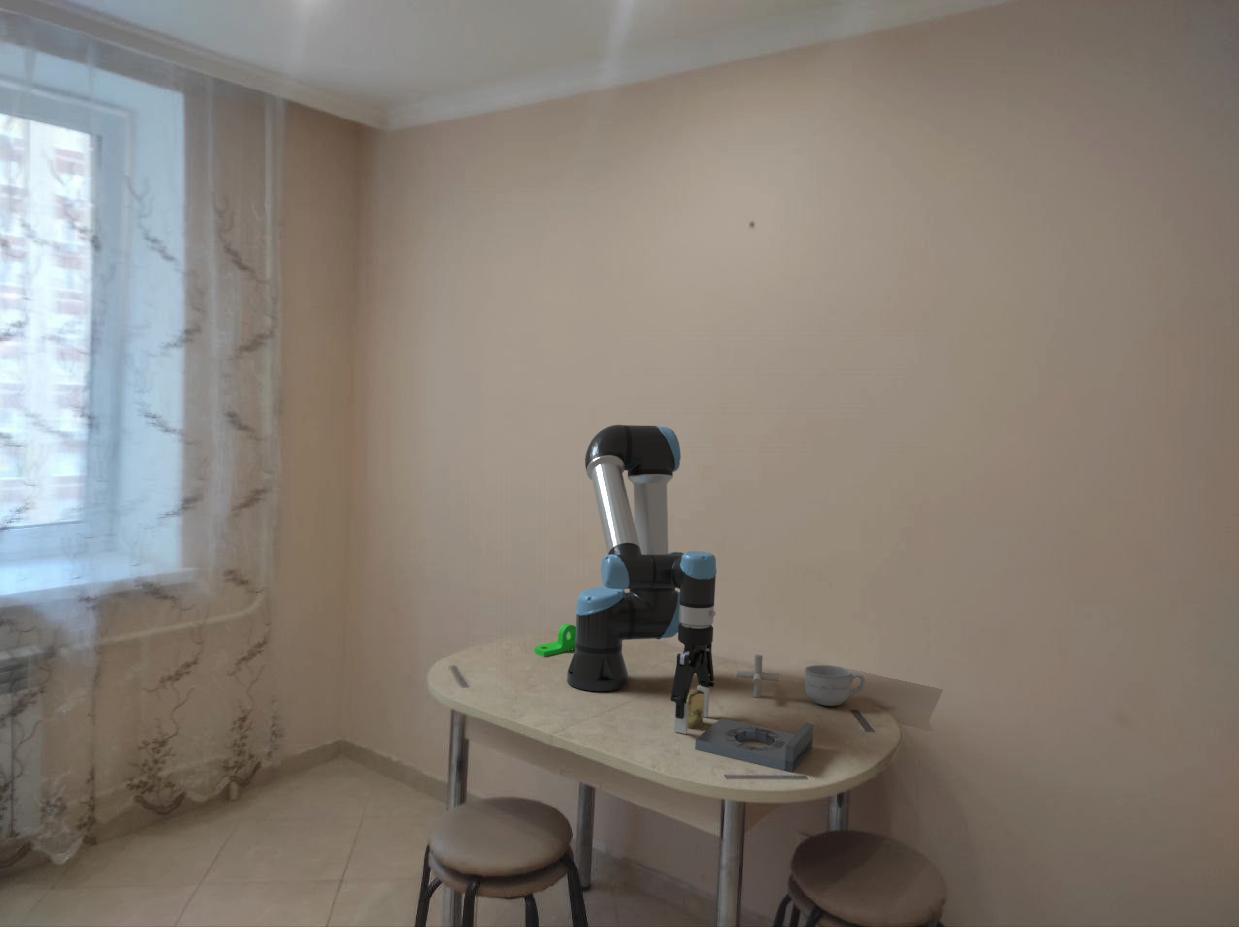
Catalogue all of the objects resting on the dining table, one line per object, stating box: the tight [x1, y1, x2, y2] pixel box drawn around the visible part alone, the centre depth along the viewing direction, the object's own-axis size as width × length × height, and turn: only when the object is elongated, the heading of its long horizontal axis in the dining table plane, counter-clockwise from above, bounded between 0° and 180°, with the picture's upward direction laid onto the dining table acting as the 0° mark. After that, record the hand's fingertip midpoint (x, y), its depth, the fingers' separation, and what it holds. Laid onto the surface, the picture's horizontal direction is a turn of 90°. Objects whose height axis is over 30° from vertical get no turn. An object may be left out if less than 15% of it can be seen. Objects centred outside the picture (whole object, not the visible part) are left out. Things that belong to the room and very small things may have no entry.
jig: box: [694, 717, 814, 773], centre depth 169 cm, size 20×14×5 cm
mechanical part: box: [534, 623, 576, 658], centre depth 231 cm, size 12×6×8 cm, turn 134°
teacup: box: [804, 664, 866, 707], centre depth 198 cm, size 14×11×8 cm
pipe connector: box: [736, 654, 780, 699], centre depth 200 cm, size 10×10×10 cm
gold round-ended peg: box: [687, 688, 704, 730], centre depth 180 cm, size 5×5×7 cm
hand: (691, 723), depth 181 cm, fingers open, 11 cm apart
